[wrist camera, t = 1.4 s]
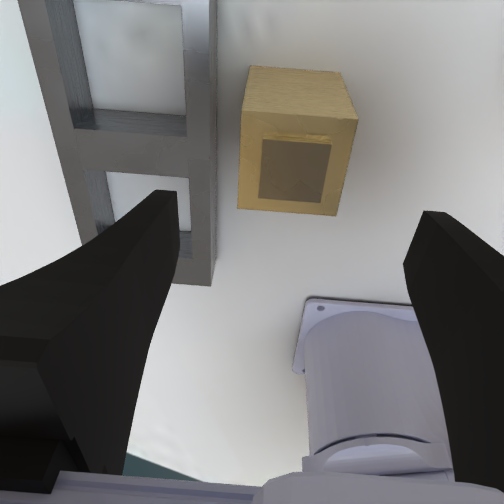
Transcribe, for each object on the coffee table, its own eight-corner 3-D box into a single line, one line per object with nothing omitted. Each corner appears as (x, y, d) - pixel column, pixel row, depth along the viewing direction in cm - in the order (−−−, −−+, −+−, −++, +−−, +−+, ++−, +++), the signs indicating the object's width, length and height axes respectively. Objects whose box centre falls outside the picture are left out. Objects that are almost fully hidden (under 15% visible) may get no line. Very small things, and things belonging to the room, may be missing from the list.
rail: (217, -65, 15) (208, -63, 13) (215, 259, 25) (211, 286, 24) (31, -80, 15) (-4, -79, 13) (104, 250, 25) (90, 276, 24)
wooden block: (339, 72, 18) (360, 124, 14) (324, 155, 21) (337, 221, 16) (250, 65, 18) (240, 114, 14) (245, 149, 21) (236, 213, 16)
